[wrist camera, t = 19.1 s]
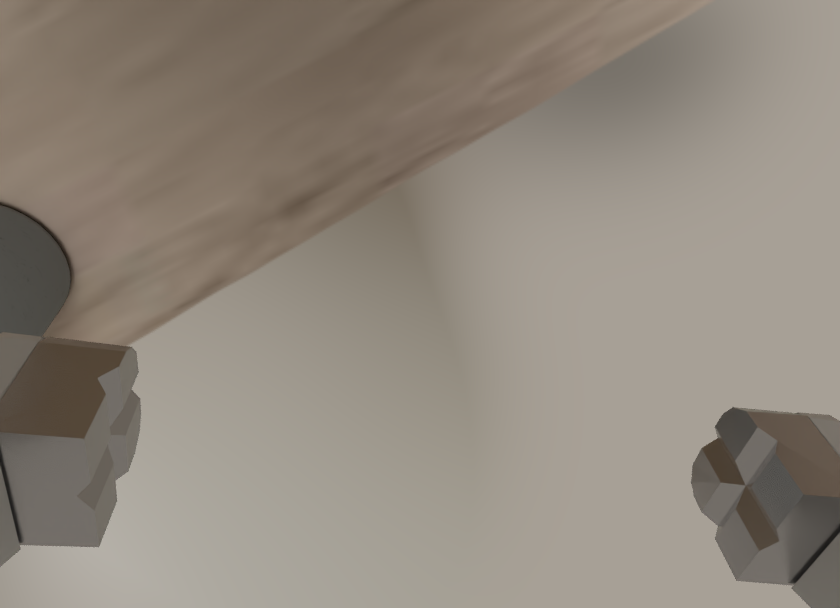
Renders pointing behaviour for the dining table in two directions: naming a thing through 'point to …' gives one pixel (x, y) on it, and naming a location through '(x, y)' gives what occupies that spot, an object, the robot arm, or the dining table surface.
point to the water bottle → (29, 275)
